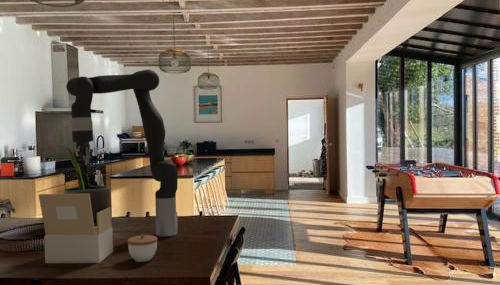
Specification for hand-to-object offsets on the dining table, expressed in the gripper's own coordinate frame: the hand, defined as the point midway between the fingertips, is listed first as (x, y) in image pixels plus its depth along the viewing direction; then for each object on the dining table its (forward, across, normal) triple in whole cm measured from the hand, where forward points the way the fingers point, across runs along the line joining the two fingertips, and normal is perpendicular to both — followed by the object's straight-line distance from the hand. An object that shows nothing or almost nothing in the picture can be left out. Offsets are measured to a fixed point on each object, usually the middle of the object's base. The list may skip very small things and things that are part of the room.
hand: (84, 174), depth 162 cm
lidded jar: (+32, -6, -23) cm, 40 cm away
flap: (+13, -12, +2) cm, 18 cm away
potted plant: (+32, +51, +21) cm, 64 cm away
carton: (+31, -3, +2) cm, 32 cm away
